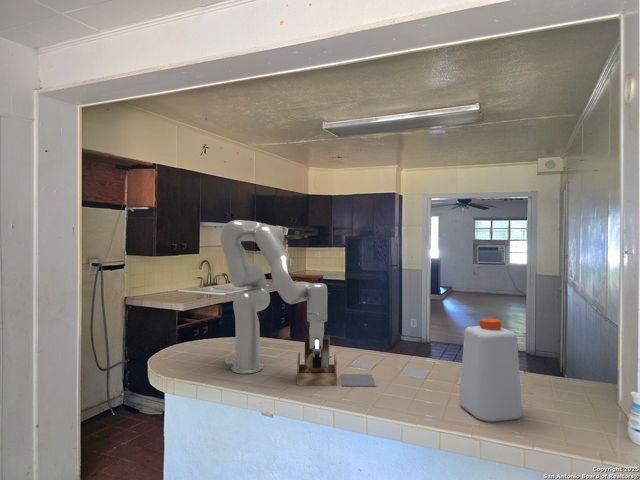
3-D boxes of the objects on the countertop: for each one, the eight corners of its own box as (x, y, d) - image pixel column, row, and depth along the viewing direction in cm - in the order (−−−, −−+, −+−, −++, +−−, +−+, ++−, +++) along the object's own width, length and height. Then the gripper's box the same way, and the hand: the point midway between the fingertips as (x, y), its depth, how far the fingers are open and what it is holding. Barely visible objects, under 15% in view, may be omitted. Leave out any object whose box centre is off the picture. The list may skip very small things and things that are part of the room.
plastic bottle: (528, 420, 117) (529, 324, 117) (482, 424, 114) (483, 326, 114) (495, 399, 132) (496, 314, 132) (454, 403, 129) (454, 316, 129)
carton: (297, 385, 144) (297, 360, 144) (298, 374, 156) (298, 351, 156) (336, 385, 145) (336, 360, 144) (335, 374, 156) (335, 351, 156)
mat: (342, 386, 143) (342, 385, 143) (340, 375, 155) (340, 374, 155) (375, 386, 143) (375, 385, 143) (371, 375, 155) (371, 374, 155)
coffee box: (303, 382, 147) (303, 338, 147) (305, 376, 154) (306, 334, 154) (328, 383, 146) (328, 339, 146) (329, 377, 153) (330, 334, 153)
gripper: (307, 312, 159) (307, 357, 159) (306, 321, 141) (306, 372, 141) (326, 312, 159) (326, 357, 159) (327, 321, 141) (327, 372, 141)
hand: (316, 364), depth 150 cm, fingers closed on coffee box, 6 cm apart
